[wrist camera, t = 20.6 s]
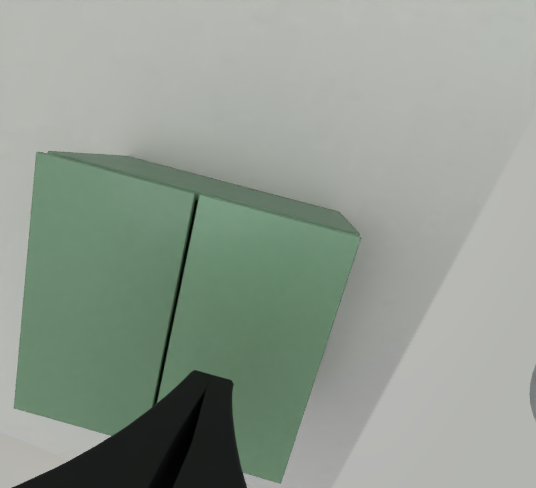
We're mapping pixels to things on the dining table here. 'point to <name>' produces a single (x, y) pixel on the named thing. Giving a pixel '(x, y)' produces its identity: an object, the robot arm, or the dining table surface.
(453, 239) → the dining table surface
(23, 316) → the carton
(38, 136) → the dining table surface
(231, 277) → the flap
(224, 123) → the dining table surface
